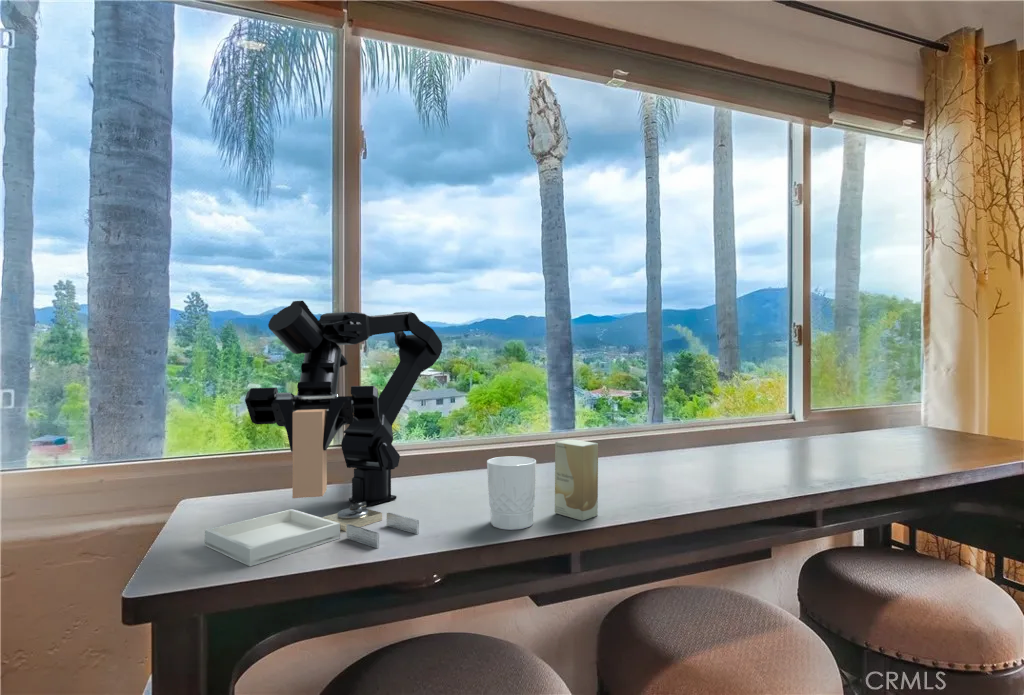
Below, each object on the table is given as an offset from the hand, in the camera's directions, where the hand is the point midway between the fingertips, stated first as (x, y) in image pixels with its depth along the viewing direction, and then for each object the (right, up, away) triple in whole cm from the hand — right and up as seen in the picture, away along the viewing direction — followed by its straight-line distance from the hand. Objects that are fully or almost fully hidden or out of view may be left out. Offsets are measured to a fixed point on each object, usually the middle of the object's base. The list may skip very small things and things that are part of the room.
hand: (308, 449), depth 74 cm
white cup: (+29, -14, +9) cm, 33 cm away
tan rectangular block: (0, -7, +1) cm, 7 cm away
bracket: (+7, -14, +7) cm, 17 cm away
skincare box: (+40, -14, +13) cm, 44 cm away
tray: (-6, -14, +1) cm, 15 cm away
